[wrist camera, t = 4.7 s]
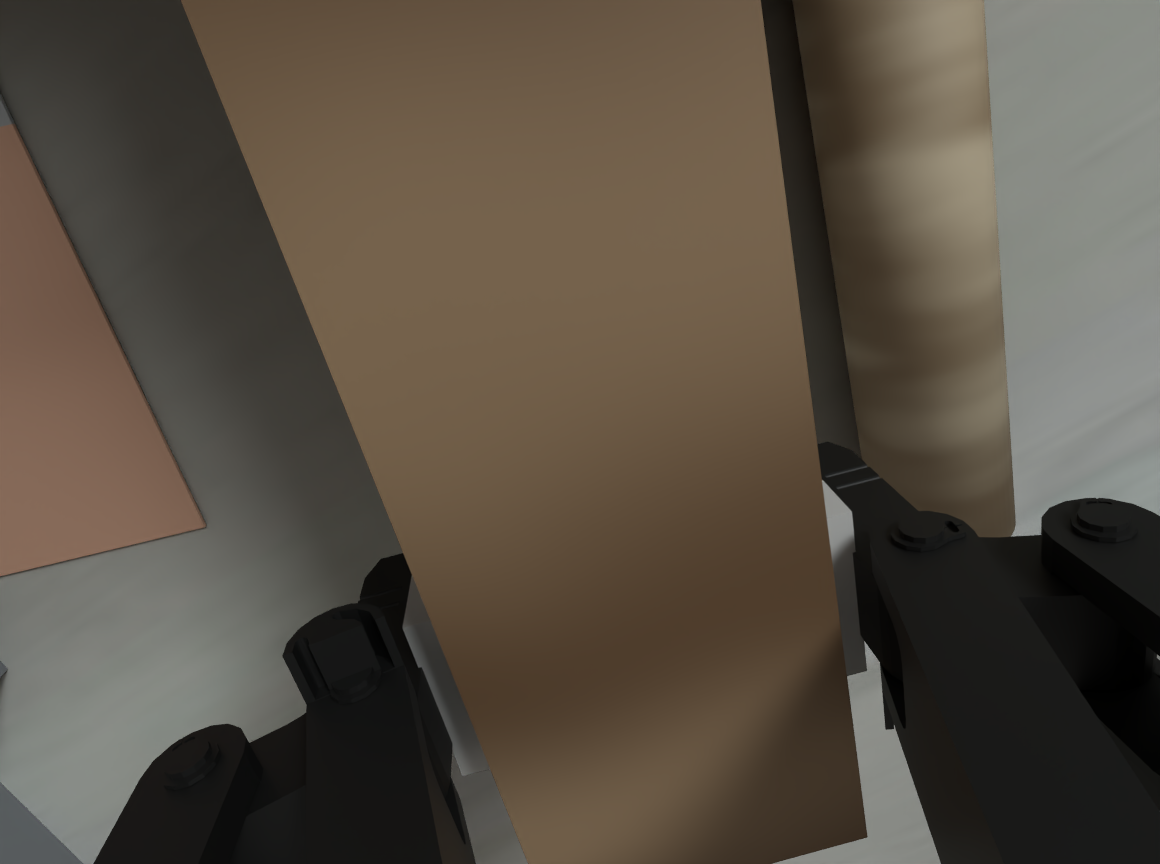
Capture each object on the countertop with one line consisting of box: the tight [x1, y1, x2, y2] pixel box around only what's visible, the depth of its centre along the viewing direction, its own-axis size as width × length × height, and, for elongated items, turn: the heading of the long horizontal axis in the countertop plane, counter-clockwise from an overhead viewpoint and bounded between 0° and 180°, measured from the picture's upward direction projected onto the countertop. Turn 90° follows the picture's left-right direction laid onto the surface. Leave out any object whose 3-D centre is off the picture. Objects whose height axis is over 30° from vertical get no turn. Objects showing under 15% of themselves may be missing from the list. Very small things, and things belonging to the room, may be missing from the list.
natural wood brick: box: [181, 0, 867, 864], centre depth 9 cm, size 24×12×8 cm, turn 14°
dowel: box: [792, 0, 1016, 537], centre depth 16 cm, size 20×4×4 cm, turn 16°
